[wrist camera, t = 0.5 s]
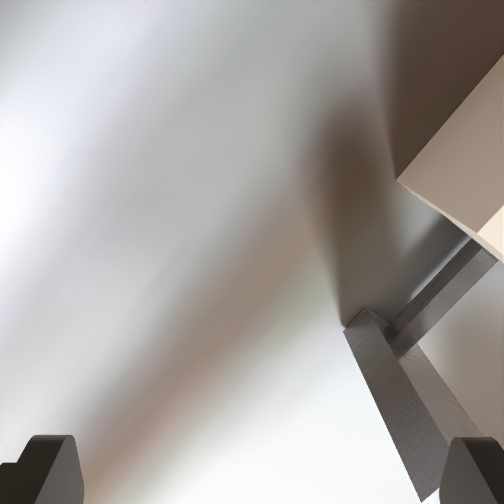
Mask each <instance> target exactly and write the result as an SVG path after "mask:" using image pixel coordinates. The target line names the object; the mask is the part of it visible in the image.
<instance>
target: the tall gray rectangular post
mask: <svg viewBox="0 0 504 504" xmlns="http://www.w3.org/2000/svg"><path fill="white" fill-rule="evenodd" d="M497 261H498V259H497V258H496V257H495V256H494V255H492V254H491V253H490V252H489V251H487V250H486V249H485V248H484V247H483V246H481V245H480V244H479V243H478V242H476V241H475V240H474V239H473V238H471V239H470V240H469V241H468V242H467V243H466V244H465V246H464V247H463V248H462V249H461V250H460V251H459V252H458V253H457V254H456V255H455V256H454V257H453V258H452V259H451V260H450V261H449V262H448V263H447V264H446V265H445V266H444V268H443V269H442V270H441V271H440V272H439V273H438V274H437V275H436V276H435V277H434V278H433V279H432V280H431V281H430V282H429V283H428V284H427V285H426V286H425V287H424V288H423V290H422V291H421V292H420V293H419V294H418V295H417V296H416V297H415V298H414V299H413V300H412V301H411V302H410V303H409V304H408V305H407V306H406V307H405V308H404V309H403V310H402V312H401V313H400V314H399V315H398V316H397V317H396V318H395V319H394V320H393V321H392V322H391V323H389V322H387V321H386V320H384V319H383V318H381V317H380V316H379V315H377V314H376V313H374V312H373V311H371V310H370V309H368V308H367V307H365V308H364V309H363V310H362V311H361V312H360V314H359V315H358V316H357V317H356V318H355V319H354V320H353V321H352V322H351V323H350V324H349V326H348V327H347V328H346V329H345V330H344V331H343V333H344V335H345V337H346V339H347V341H348V344H349V346H350V348H351V350H352V352H353V355H354V357H355V359H356V361H357V363H358V365H359V368H360V370H361V372H362V374H363V376H364V379H365V381H366V383H367V385H368V387H369V389H370V392H371V394H372V396H373V398H374V400H375V403H376V405H377V407H378V409H379V411H380V413H381V416H382V418H383V420H384V422H385V424H386V427H387V429H388V431H389V433H390V435H391V437H392V440H393V442H394V444H395V446H396V448H397V451H398V453H399V455H400V457H401V459H402V461H403V464H404V466H405V468H406V470H407V472H408V475H409V477H410V479H411V481H412V483H413V485H414V488H415V490H416V492H417V494H418V496H419V499H420V501H421V503H422V504H440V500H439V487H440V482H441V478H442V474H443V471H444V467H445V463H446V459H447V455H448V451H449V447H450V444H451V441H452V439H453V438H454V437H483V436H482V435H481V434H480V432H479V431H478V429H477V428H476V426H475V425H474V424H473V422H472V421H471V419H470V418H469V417H468V415H467V414H466V412H465V411H464V409H463V408H462V407H461V405H460V404H459V402H458V401H457V400H456V398H455V397H454V395H453V394H452V392H451V391H450V390H449V388H448V387H447V385H446V384H445V382H444V381H443V380H442V378H441V377H440V375H439V374H438V373H437V371H436V370H435V368H434V367H433V365H432V364H431V363H430V361H429V360H428V358H427V357H426V355H425V354H424V353H423V351H422V350H421V348H420V347H419V346H418V344H417V342H418V341H419V340H420V339H421V338H422V337H423V336H424V335H425V334H426V333H427V332H428V331H429V330H430V329H431V328H432V327H433V326H434V325H435V324H436V323H437V322H438V321H439V320H440V319H441V318H442V316H443V315H444V314H445V313H446V312H447V311H448V310H449V309H450V308H451V307H452V306H453V305H454V304H455V303H456V302H457V301H458V300H459V299H460V298H461V297H462V296H463V295H464V294H465V293H466V292H467V291H468V290H469V289H470V288H471V287H472V286H473V285H474V284H475V283H476V282H477V281H478V280H479V279H480V278H481V277H482V276H483V275H484V274H485V273H486V272H487V271H488V270H489V269H490V268H491V267H492V266H493V265H494V264H495V263H496V262H497Z"/></svg>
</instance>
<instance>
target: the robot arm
mask: <svg viewBox="0 0 504 504" xmlns="http://www.w3.org/2000/svg"><path fill="white" fill-rule="evenodd" d="M83 500H84V483H83V478H82V473H81V468H80V463H79V458H78V453H77V448H76V442H75V439H74V437H73V436H72V435H34V436H33V437H32V438H31V439H30V440H29V442H28V443H27V445H26V447H25V449H24V450H23V452H22V454H21V456H20V458H19V459H18V461H17V463H2V464H1V465H0V504H83ZM439 500H440V504H504V451H503V449H502V447H501V446H500V444H499V443H498V442H497V441H496V440H495V439H494V438H492V437H454V438H453V439H452V441H451V444H450V447H449V451H448V455H447V459H446V463H445V467H444V471H443V474H442V478H441V482H440V487H439Z"/></svg>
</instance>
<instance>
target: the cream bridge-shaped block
mask: <svg viewBox="0 0 504 504" xmlns="http://www.w3.org/2000/svg"><path fill="white" fill-rule="evenodd" d="M396 180H397V181H398V182H399V183H400V184H402V185H403V186H404V187H405V188H406V189H408V190H409V191H410V192H411V193H413V194H414V195H415V196H416V197H418V198H419V199H421V200H422V201H423V202H425V203H426V204H428V205H429V206H431V207H432V208H434V209H435V210H437V211H438V212H440V213H441V214H443V215H444V216H446V217H447V218H448V219H449V220H451V221H452V222H453V223H454V224H455V225H457V226H458V227H459V228H460V229H462V230H463V231H464V232H465V233H467V234H468V235H469V236H470V237H471V238H473V239H474V240H475V241H476V242H478V243H479V244H480V245H481V246H483V247H484V248H485V249H486V250H487V251H489V252H490V253H491V254H492V255H494V256H495V257H496V258H497V259H498V260H500V261H501V262H502V263H503V264H504V54H503V55H502V57H501V58H500V59H499V60H498V61H497V63H496V64H495V65H494V66H493V67H492V68H491V70H490V71H489V72H488V73H487V74H486V75H485V77H484V78H483V79H482V80H481V81H480V82H479V84H478V85H477V86H476V87H475V88H474V89H473V91H472V92H471V93H470V94H469V95H468V96H467V98H466V99H465V100H464V101H463V102H462V103H461V105H460V106H459V107H458V108H457V109H456V110H455V112H454V113H453V114H452V115H451V116H450V117H449V119H448V120H447V121H446V122H445V123H444V124H443V126H442V127H441V128H440V129H439V130H438V131H437V133H436V134H435V135H434V136H433V137H432V138H431V140H430V141H429V142H428V143H427V144H426V145H425V147H424V148H423V149H422V150H421V151H420V152H419V154H418V155H417V156H416V157H415V158H414V159H413V161H412V162H411V163H410V164H409V165H408V166H407V168H406V169H405V170H404V171H403V172H402V174H401V175H400V176H399V177H398V178H397V179H396Z"/></svg>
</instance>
